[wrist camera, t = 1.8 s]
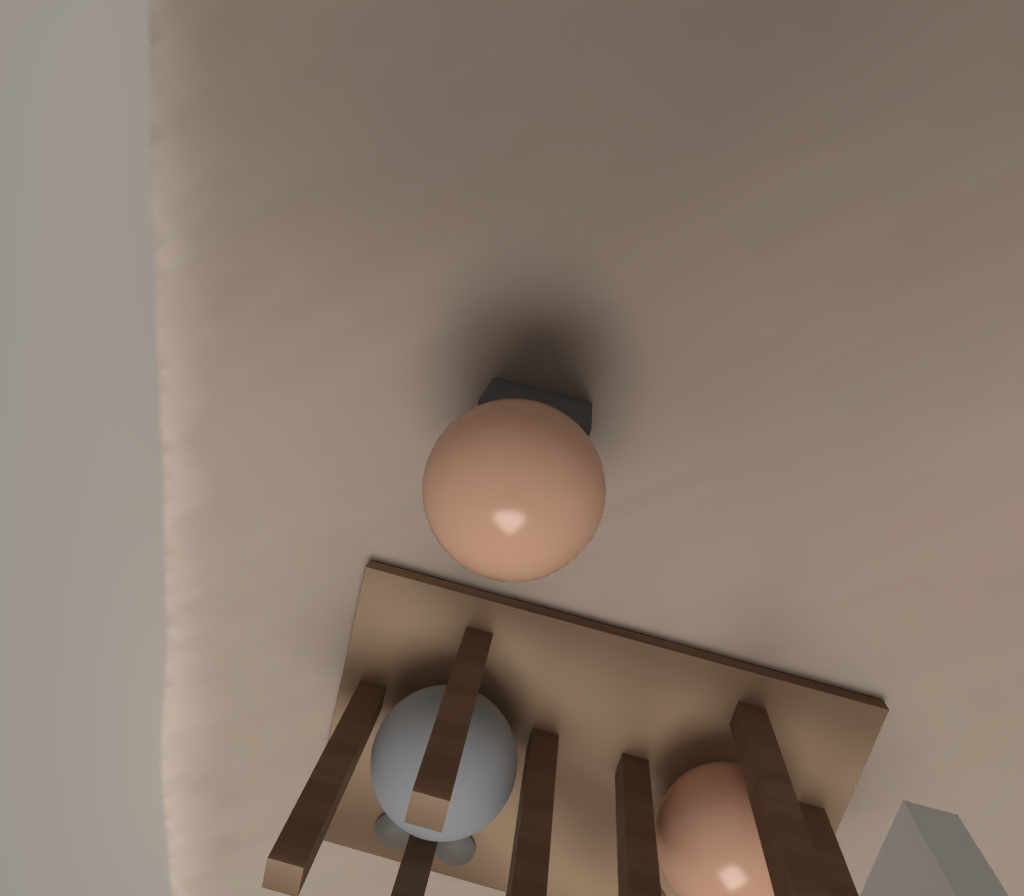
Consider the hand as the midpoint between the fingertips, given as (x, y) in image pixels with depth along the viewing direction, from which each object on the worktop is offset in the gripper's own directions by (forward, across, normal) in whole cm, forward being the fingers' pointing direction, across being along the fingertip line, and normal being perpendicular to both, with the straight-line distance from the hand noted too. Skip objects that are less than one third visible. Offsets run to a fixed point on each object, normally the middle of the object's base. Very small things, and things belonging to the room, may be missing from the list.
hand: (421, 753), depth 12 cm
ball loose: (+11, 0, 0) cm, 11 cm away
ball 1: (+17, 0, -10) cm, 20 cm away
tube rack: (+17, +5, -12) cm, 21 cm away
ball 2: (+16, +10, -10) cm, 22 cm away
